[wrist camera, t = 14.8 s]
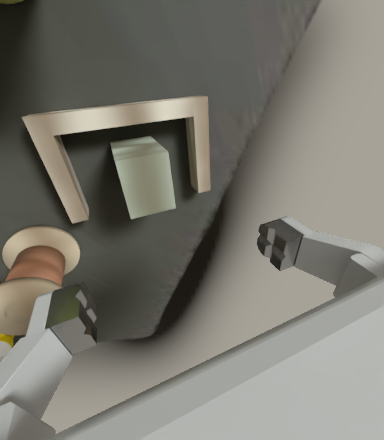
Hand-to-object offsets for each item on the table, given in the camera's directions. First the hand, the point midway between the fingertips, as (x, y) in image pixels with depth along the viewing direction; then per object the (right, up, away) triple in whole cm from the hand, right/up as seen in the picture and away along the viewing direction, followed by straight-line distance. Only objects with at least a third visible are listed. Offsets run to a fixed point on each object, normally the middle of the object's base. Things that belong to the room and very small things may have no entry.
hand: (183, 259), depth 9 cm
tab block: (-6, +8, +13) cm, 16 cm away
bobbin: (-16, -2, +14) cm, 22 cm away
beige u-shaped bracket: (-6, +8, +13) cm, 16 cm away
